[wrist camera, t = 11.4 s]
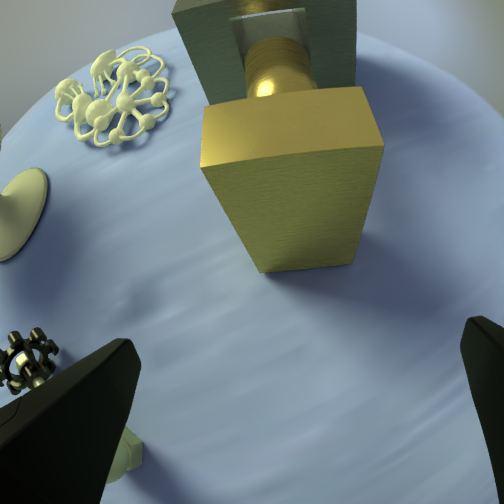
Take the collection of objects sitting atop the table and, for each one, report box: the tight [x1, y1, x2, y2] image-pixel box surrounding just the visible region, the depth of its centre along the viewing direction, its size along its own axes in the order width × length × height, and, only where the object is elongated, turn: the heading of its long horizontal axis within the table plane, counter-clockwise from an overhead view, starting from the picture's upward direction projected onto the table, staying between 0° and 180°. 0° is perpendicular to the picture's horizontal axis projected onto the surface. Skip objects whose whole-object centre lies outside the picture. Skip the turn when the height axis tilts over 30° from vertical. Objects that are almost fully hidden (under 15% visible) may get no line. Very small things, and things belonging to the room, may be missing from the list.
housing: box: [171, 0, 357, 105], centre depth 22 cm, size 10×12×12 cm
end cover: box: [200, 37, 385, 273], centre depth 17 cm, size 11×6×12 cm, turn 2°
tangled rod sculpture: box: [55, 46, 169, 147], centre depth 31 cm, size 19×14×4 cm
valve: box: [0, 327, 143, 484], centre depth 17 cm, size 7×7×12 cm
